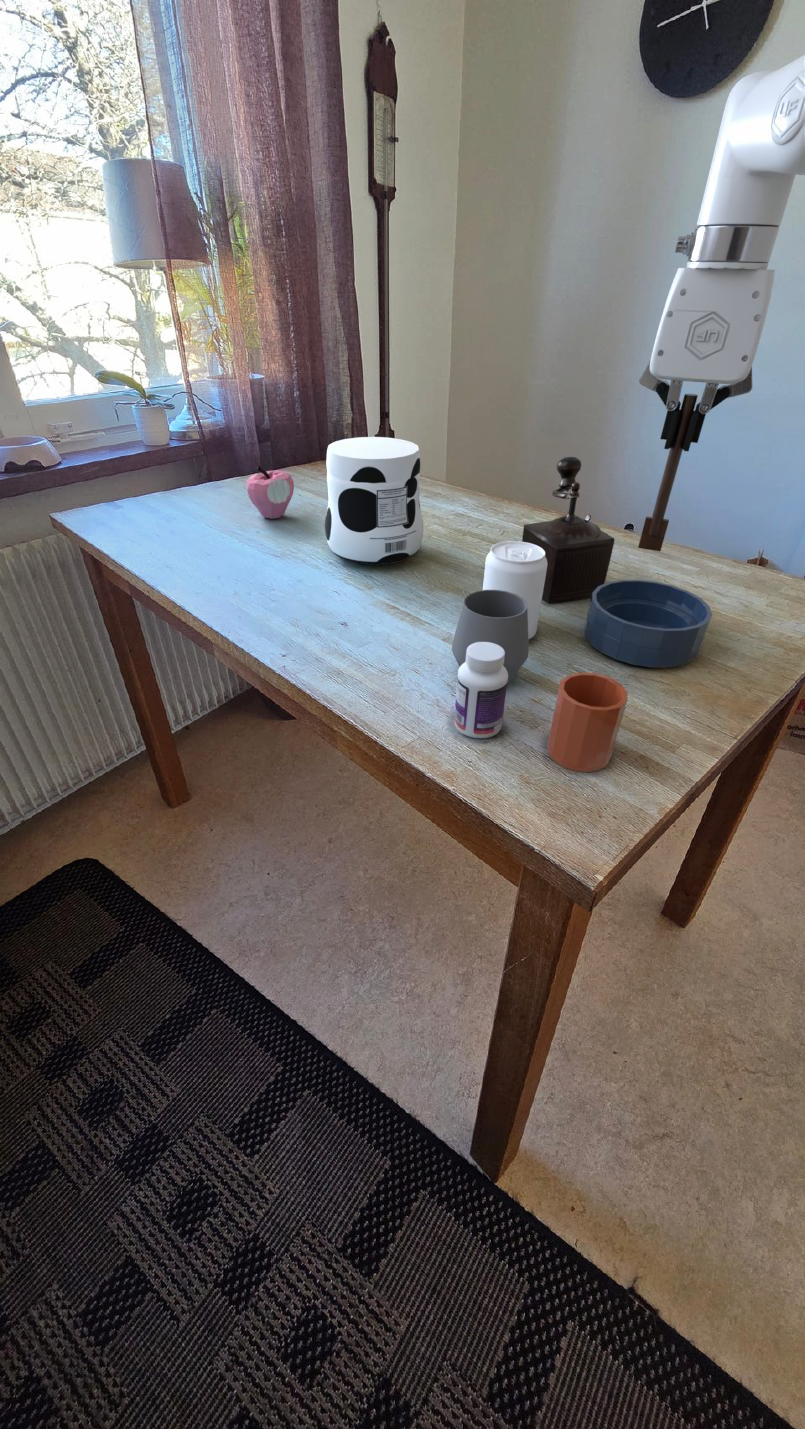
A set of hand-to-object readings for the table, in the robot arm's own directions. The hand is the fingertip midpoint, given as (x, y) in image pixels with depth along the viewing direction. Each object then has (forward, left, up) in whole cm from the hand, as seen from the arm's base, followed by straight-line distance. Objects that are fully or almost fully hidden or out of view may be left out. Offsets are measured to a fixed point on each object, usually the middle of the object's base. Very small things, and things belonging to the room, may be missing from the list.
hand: (677, 446), depth 71 cm
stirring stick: (0, 0, -13) cm, 13 cm away
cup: (-3, +24, -25) cm, 35 cm away
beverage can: (+6, +16, -25) cm, 31 cm away
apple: (+66, +37, -25) cm, 80 cm away
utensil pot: (-20, +22, -25) cm, 39 cm away
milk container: (+40, +24, -25) cm, 53 cm away
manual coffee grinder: (+19, 0, -25) cm, 32 cm away
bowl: (-3, 0, -25) cm, 25 cm away
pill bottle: (-12, +30, -25) cm, 41 cm away
